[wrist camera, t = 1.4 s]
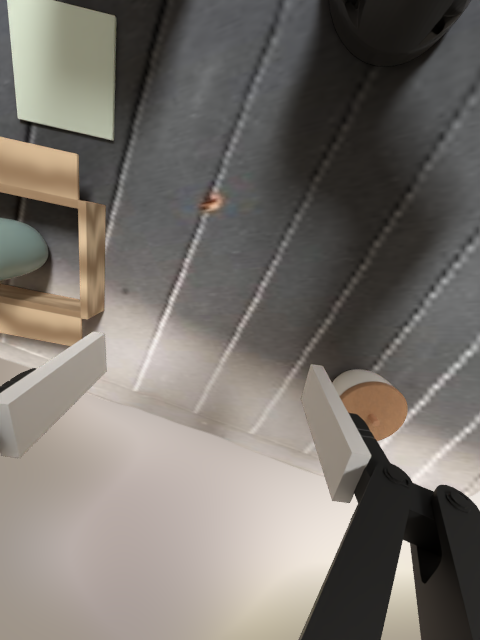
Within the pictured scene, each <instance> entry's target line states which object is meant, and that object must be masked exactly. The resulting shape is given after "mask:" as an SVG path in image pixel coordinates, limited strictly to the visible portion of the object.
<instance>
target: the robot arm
mask: <svg viewBox="0 0 480 640" xmlns="http://www.w3.org/2000/svg"><path fill="white" fill-rule="evenodd" d="M470 2H471V0H329V6H330V11H331V16H332V20H333V23H334V26H335V29H336V31H337V33H338V35H339V37H340V39H341V40H342V42H343V43H344V45H345V46H346V47H347V49H348V50H349V51H350V52H351V53H352V54H353V55H355V56H356V57H357V58H359V59H360V60H362V61H364V62H366V63H369V64H372V65H376V66H394V65H399V64H403V63H405V62H408V61H410V60H412V59H414V58H416V57H418V56H419V55H421V54H422V53H424V52H425V51H426V50H428V49H429V48H430V47H431V46H432V45H433V44H435V43H436V42H437V41H438V40H439V39H440V38H441V37H442V36H443V35H444V34H445V33H446V32H447V31H448V30H449V29H450V28H451V26H452V25H453V24H454V23H455V22H456V21H457V20H458V18H459V17H460V16H461V14H462V13H463V12H464V10H465V9H466V8H467V6H468V5H469V3H470ZM106 371H107V368H106V347H105V334H104V333H97V332H92V333H90V334H89V335H87V336H86V337H84V338H83V339H81V340H80V341H78V342H76V343H75V344H73V345H72V346H70V347H69V348H67V349H66V350H64V351H63V352H61V353H60V354H58V355H57V356H55V357H54V358H52V359H51V360H49V361H48V362H46V363H45V364H43V365H42V366H40V367H39V368H37V369H35V368H33V369H30V370H28V371H25V372H23V373H20V374H19V375H17V376H15V377H14V378H12V379H11V380H10V381H7V382H6V383H4V384H3V385H2V386H0V453H1V456H5V457H12V458H21V457H22V456H23V455H24V454H25V453H26V452H27V451H28V450H29V449H30V448H31V447H32V446H33V445H34V444H35V443H36V442H37V441H38V440H39V439H40V438H41V437H42V436H43V435H44V434H45V433H46V432H47V431H48V430H49V429H50V428H51V427H52V426H53V425H54V424H55V423H56V422H57V421H58V420H59V419H60V418H61V417H62V416H63V415H64V414H65V413H66V412H67V411H68V410H69V409H70V407H72V406H73V405H74V404H75V402H77V401H78V400H79V399H80V398H81V396H82V395H84V394H85V393H86V392H87V391H88V390H89V389H90V388H91V387H92V386H93V385H94V384H95V383H96V381H97V380H98V379H99V378H100V377H101V376H102V375H103V374H104V373H105V372H106ZM301 401H302V405H303V408H304V411H305V414H306V418H307V421H308V424H309V427H310V430H311V434H312V437H313V440H314V443H315V447H316V450H317V453H318V456H319V460H320V463H321V466H322V469H323V473H324V476H325V479H326V482H327V485H328V489H329V492H330V495H331V498H332V501H339V502H346V503H350V501H351V499H352V497H353V495H354V494H355V496H356V499H357V501H358V506H357V508H356V510H355V512H354V514H353V516H352V518H351V521H350V523H349V526H348V528H347V530H346V533H345V535H344V537H343V539H342V542H341V544H340V547H339V549H338V551H337V553H336V556H335V558H334V560H333V562H332V565H331V567H330V569H329V571H328V574H327V576H326V578H325V581H324V583H323V585H322V587H321V590H320V592H319V594H318V597H317V599H316V601H315V603H314V606H313V608H312V610H311V612H310V615H309V617H308V619H307V622H306V624H305V626H304V629H303V631H302V633H301V636H300V638H299V640H381V635H382V631H383V627H384V622H385V617H386V613H387V609H388V604H389V599H390V595H391V590H392V586H393V581H394V577H395V572H396V568H397V563H398V559H399V554H400V550H401V545H402V541H403V540H405V541H408V542H410V546H411V554H412V563H413V571H414V580H415V589H416V597H417V605H418V615H419V624H420V632H421V640H480V511H479V509H478V508H477V506H476V505H475V504H474V503H473V502H472V501H471V500H470V499H469V498H468V497H467V496H466V495H464V494H463V493H462V492H460V491H458V490H457V489H455V488H453V487H450V486H447V485H439V486H438V487H437V488H436V489H435V491H434V492H433V491H431V490H428V489H426V488H423V487H421V486H418V485H416V484H414V483H412V481H411V479H410V477H409V476H408V475H407V474H406V473H405V472H404V471H403V470H401V469H400V468H399V467H397V466H395V465H393V464H391V463H390V462H389V460H388V459H387V457H386V455H385V454H384V452H383V450H382V449H381V447H380V446H379V444H378V442H377V441H376V439H374V436H373V434H372V432H370V429H369V427H368V426H367V424H366V422H365V421H364V420H363V419H362V418H361V417H360V416H359V415H357V414H354V413H348V411H347V409H346V408H345V406H344V404H343V402H342V400H341V398H340V397H339V395H338V393H337V391H336V389H335V387H334V386H333V384H332V382H331V380H330V378H329V376H328V375H327V373H326V371H325V369H324V367H323V366H321V365H314V364H311V366H310V369H309V372H308V376H307V379H306V383H305V386H304V390H303V393H302V397H301Z"/></svg>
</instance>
